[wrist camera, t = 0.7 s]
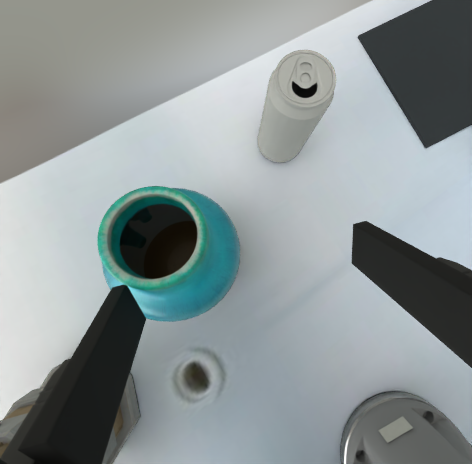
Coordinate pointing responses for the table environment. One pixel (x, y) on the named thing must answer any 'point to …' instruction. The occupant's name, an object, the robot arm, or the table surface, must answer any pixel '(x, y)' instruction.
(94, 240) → the table surface
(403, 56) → the mat
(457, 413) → the table surface
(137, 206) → the vase
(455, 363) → the table surface
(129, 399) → the tankard
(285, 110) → the beverage can
